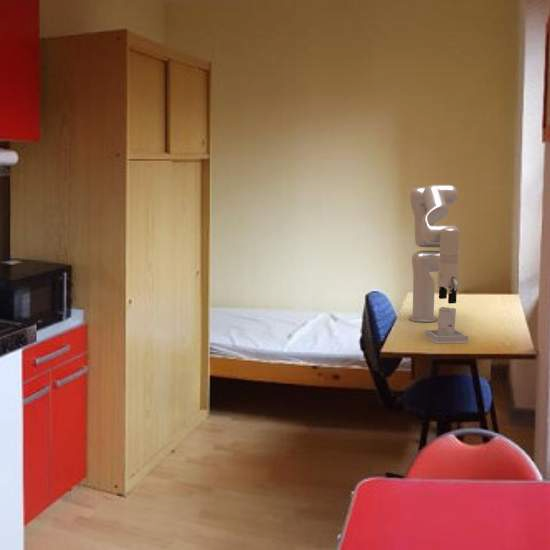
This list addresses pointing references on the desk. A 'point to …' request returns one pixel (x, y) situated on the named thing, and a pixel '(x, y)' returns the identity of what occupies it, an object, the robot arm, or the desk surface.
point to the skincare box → (446, 321)
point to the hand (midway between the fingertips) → (447, 300)
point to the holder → (446, 337)
